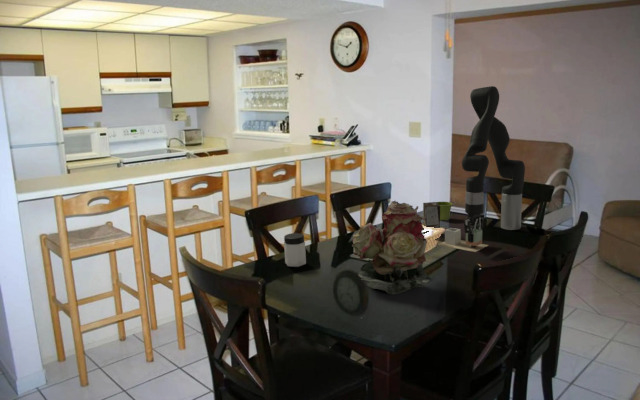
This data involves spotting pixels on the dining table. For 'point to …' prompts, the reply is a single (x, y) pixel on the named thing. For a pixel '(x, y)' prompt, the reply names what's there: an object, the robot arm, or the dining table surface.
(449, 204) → the plant pot
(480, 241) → the sage sleeve
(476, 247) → the pin board
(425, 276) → the rose bouquet
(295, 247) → the jar
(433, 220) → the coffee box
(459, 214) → the dining table surface
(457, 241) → the grey sleeve
